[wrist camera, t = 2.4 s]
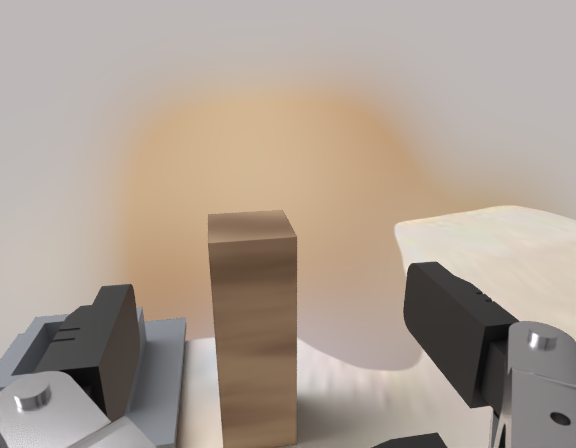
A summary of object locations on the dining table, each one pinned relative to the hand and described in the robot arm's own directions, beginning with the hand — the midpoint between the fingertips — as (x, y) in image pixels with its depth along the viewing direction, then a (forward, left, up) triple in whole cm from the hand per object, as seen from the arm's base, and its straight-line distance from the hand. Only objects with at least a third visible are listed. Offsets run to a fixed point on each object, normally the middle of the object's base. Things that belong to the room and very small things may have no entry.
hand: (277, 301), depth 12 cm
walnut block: (-9, -7, -16) cm, 19 cm away
